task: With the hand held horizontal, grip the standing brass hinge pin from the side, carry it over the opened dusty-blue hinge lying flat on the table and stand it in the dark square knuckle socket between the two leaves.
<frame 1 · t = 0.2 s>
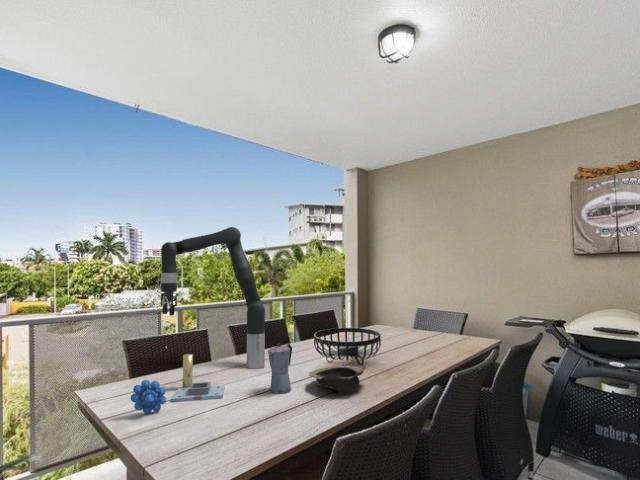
hand: (168, 314, 175), 28 cm above the table, tool pointing down, fingers open, 8 cm apart
pin: (187, 388, 151), on the table
stone bowl: (336, 388, 152), on the table
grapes: (148, 415, 124), on the table
moka pot: (280, 390, 149), on the table
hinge: (199, 394, 144), on the table
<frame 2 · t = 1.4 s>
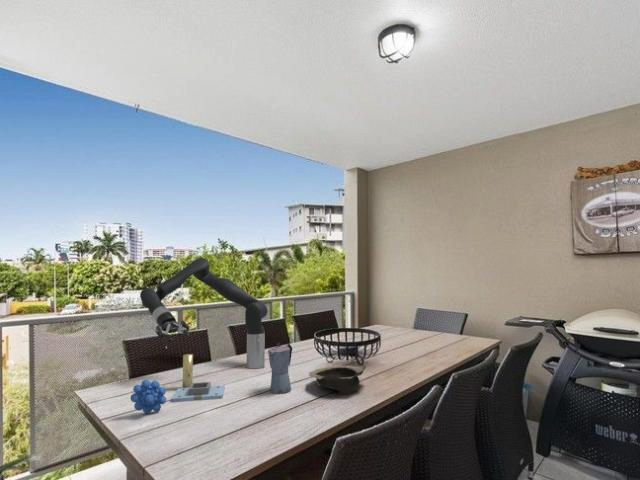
hand: (180, 339, 161), 19 cm above the table, tool tilted 60°, fingers open, 8 cm apart
nothing on the table moved.
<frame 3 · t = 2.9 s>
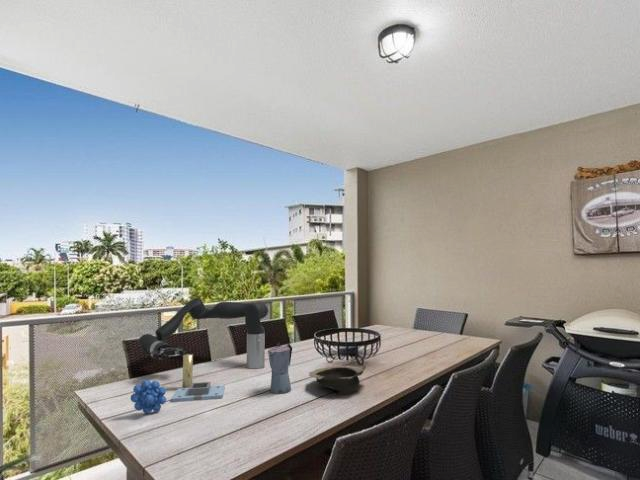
hand: (175, 355, 160), 12 cm above the table, tool horizontal, fingers open, 8 cm apart
nothing on the table moved.
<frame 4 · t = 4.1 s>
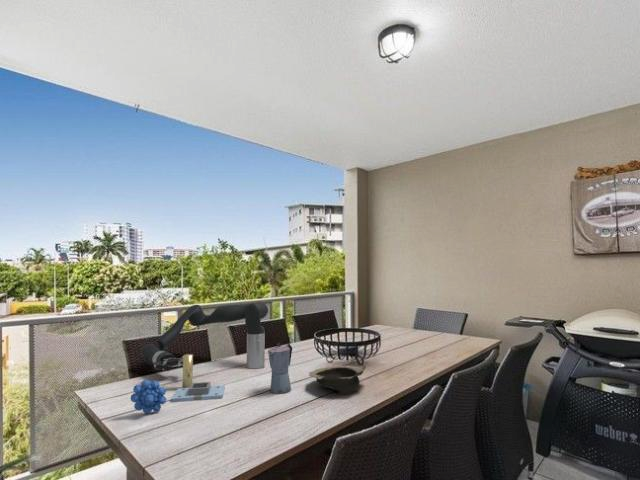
hand: (178, 366, 157), 8 cm above the table, tool horizontal, fingers open, 8 cm apart
nothing on the table moved.
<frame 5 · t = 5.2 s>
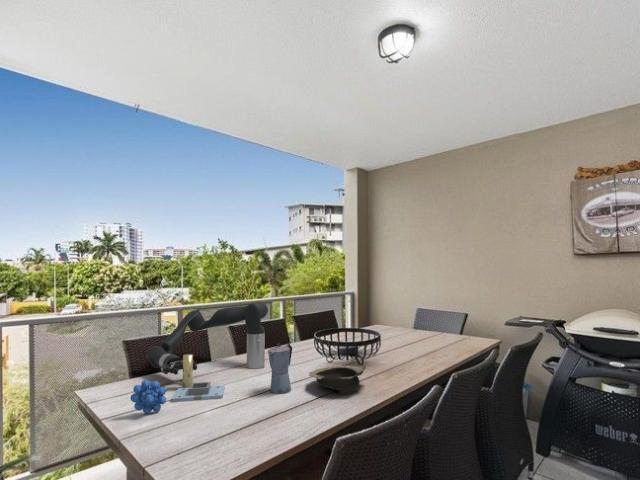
hand: (186, 369, 152), 8 cm above the table, tool horizontal, fingers open, 8 cm apart
nothing on the table moved.
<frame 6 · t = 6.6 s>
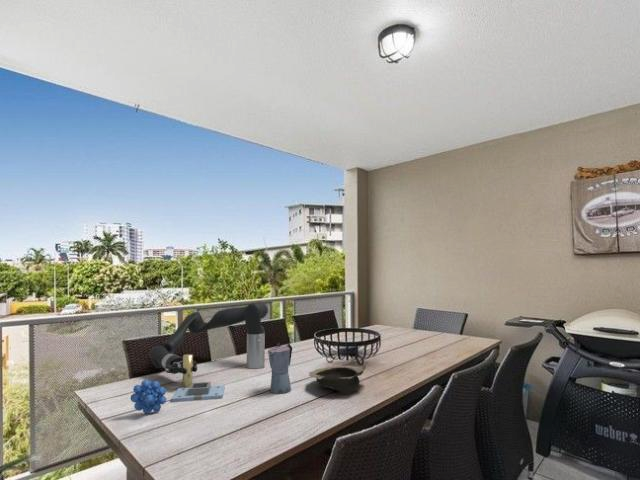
hand: (190, 370, 150), 8 cm above the table, tool horizontal, fingers closed on pin, 4 cm apart
pin: (187, 388, 151), on the table, touching gripper
everything else where it was.
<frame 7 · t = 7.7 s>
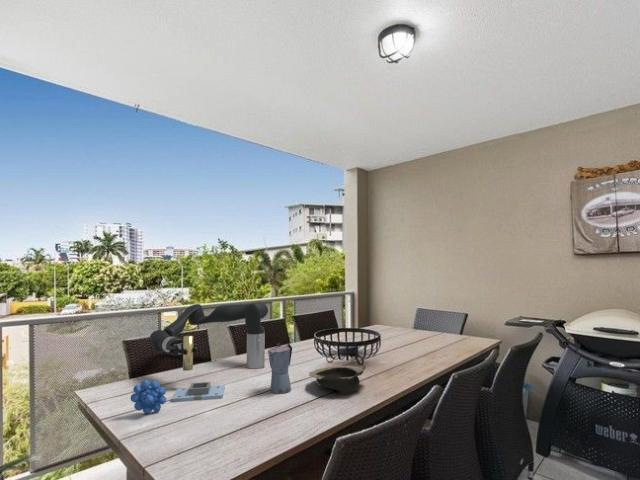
hand: (191, 351, 150), 16 cm above the table, tool horizontal, fingers closed on pin, 4 cm apart
pin: (187, 369, 152), point 8 cm above the table, touching gripper
everything else where it was.
when the fingers open (10 cm above the table, at t = 11.3 s): pin stays where it is, resting on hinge.
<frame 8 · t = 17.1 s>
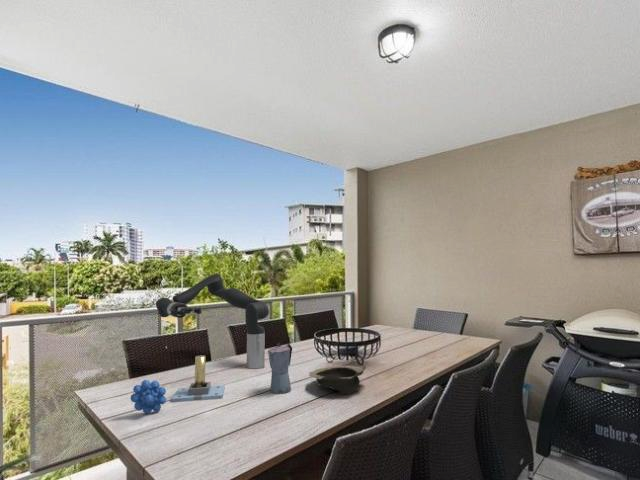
hand: (192, 312, 171), 30 cm above the table, tool horizontal, fingers open, 8 cm apart
pin: (199, 391, 144), point 1 cm above the table, touching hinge
everything else where it was.
at the end: pin 0.0 cm off-centre on the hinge, point 1.2 cm above the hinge's base; pin tilted 0°; the gripper is holding nothing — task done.
